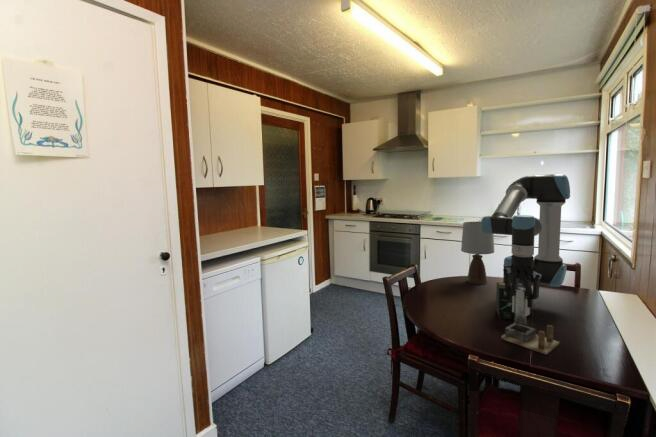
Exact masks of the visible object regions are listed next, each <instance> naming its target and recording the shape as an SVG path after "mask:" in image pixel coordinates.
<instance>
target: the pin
mask: <svg viewBox="0 0 656 437" xmlns="http://www.w3.org/2000/svg"><path fill="white" fill-rule="evenodd" d="M525 299H527V294H526V289H525V288H521V287H517V288H516V291H515V320H514V323H516V324H518V325H524V326H527V321H528V320H527V319H528V318H527V317H528V315H527V316H525Z"/></svg>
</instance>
